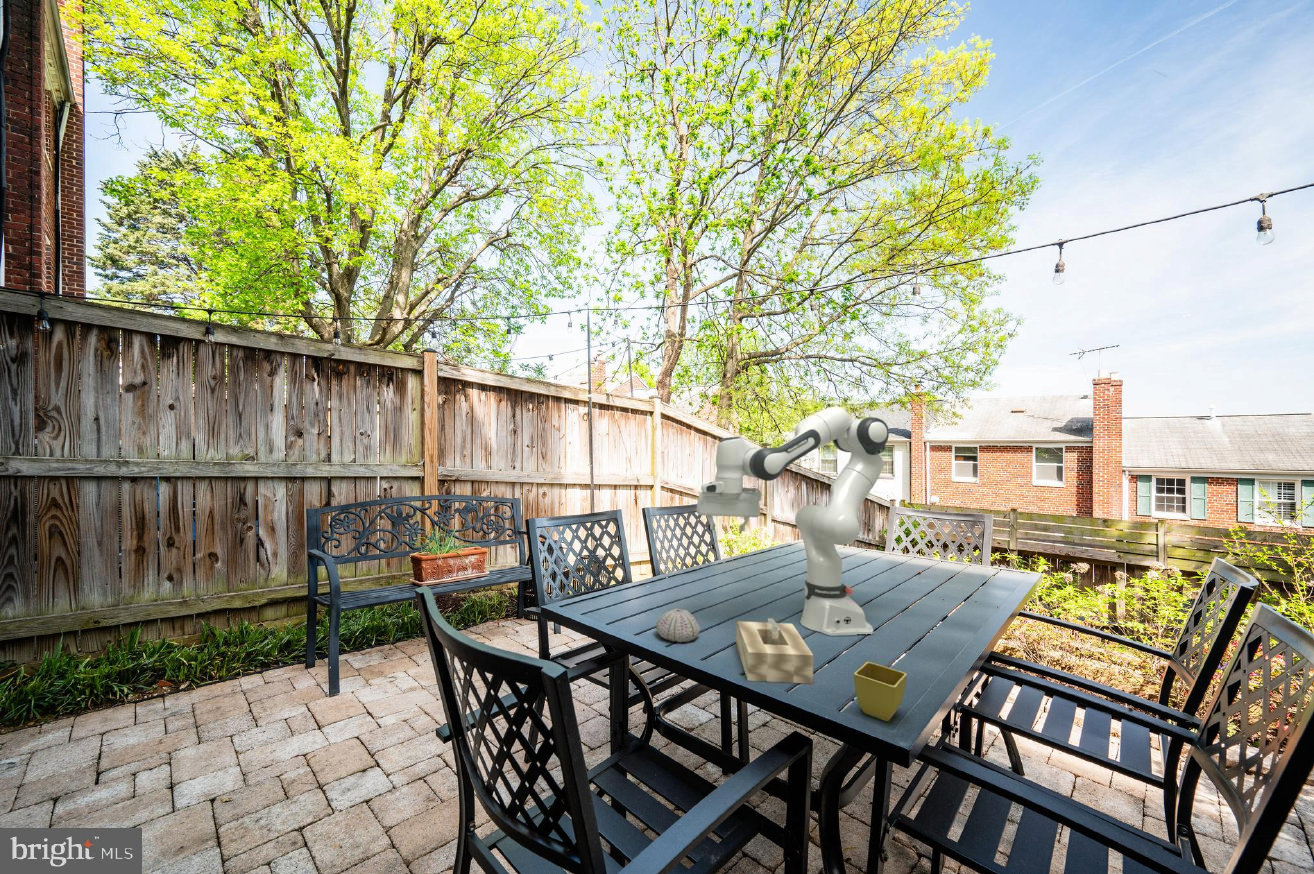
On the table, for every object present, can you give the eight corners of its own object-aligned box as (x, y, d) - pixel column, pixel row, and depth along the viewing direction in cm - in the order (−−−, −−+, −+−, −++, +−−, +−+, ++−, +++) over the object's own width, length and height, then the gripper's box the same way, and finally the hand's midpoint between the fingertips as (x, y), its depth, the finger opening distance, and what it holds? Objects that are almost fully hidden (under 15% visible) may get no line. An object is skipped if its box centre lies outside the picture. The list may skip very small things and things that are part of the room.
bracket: (776, 654, 139) (777, 618, 139) (781, 665, 132) (783, 627, 132) (761, 654, 139) (762, 617, 140) (766, 665, 132) (767, 627, 133)
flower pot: (894, 730, 105) (895, 686, 105) (852, 714, 111) (853, 672, 111) (906, 714, 112) (907, 673, 112) (866, 699, 118) (867, 661, 118)
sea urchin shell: (673, 625, 162) (674, 600, 162) (708, 636, 153) (709, 610, 153) (646, 636, 152) (647, 609, 152) (682, 649, 143) (683, 621, 143)
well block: (791, 647, 147) (792, 623, 147) (812, 683, 125) (813, 655, 125) (736, 645, 147) (737, 621, 147) (747, 680, 125) (748, 652, 125)
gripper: (759, 487, 165) (758, 529, 164) (697, 485, 165) (695, 527, 165) (763, 489, 158) (761, 533, 158) (698, 486, 159) (696, 530, 159)
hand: (727, 530), depth 162 cm, fingers open, 8 cm apart
